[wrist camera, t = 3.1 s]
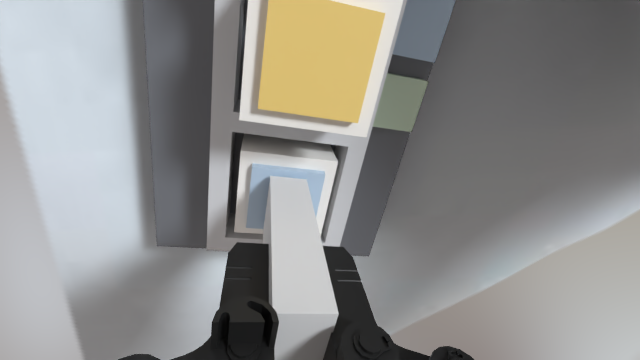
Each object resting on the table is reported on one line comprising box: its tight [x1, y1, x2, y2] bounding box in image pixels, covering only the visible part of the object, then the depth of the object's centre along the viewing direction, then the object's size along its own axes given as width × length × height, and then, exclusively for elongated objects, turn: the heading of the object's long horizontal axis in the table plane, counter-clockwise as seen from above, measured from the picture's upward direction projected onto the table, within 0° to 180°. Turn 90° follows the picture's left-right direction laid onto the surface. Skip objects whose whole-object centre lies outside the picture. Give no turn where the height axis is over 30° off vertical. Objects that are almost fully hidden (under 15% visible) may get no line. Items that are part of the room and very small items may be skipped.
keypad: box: [143, 0, 456, 256], centre depth 13 cm, size 22×12×4 cm, turn 169°
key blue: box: [234, 133, 338, 237], centre depth 14 cm, size 4×4×2 cm
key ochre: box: [239, 0, 403, 137], centre depth 9 cm, size 4×4×2 cm
